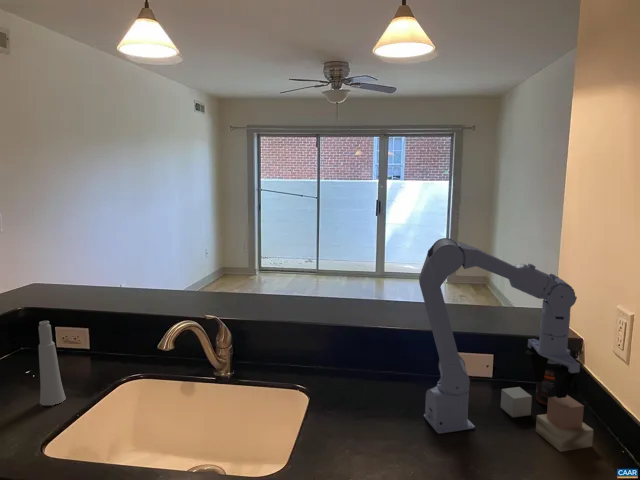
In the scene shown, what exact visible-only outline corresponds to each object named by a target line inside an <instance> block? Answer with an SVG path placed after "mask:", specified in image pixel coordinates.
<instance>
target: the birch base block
mask: <svg viewBox="0 0 640 480" xmlns="http://www.w3.org/2000/svg"><path fill="white" fill-rule="evenodd" d="M535 422H536V424H535V432H536V433H537V434H538V435H540V436H541V437H542V438H543V439H545V440H546V441H547V442H548V443H549V444H550V445H551V446H553V447H554V448H555V449H556V450H558V451H559V452H561V453H562V452H567V451H572V450H573V451H574V450H580V449H585V448H586V449H587V448H591V447H593V441H594V440H593V439H594V429H593V428H592V427H590V426H589V425H587V424H586V423H585V422H582V427H579V428H573V429H566V430H562V429H560V428H559V427H558V426H556V425H555V424H554V423H552V422H551V421H550V420H549V419H547V413H545V414H544V413H543V414H537V415H536V420H535Z"/></svg>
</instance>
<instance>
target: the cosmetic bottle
mask: <svg viewBox="0 0 640 480" xmlns="http://www.w3.org/2000/svg"><path fill="white" fill-rule="evenodd" d="M38 337H39V344H38V360H39V361H38V362H39V379H40V381H39V382H40V394H39V395H40V396H39V405H40V404H41V405H55V404H59V403H61V402H62V403H64V402H65V401H64V400H66V398H67V397H66V394H65V391H64V388H63V384H62V379H61V373H60V367H59V362H58V355H57V349H56V345H55V344H56V343H55V342H54V341H53V334H52V325H51V324H50V321H49V320H42V321H39V323H38ZM63 401H64V402H63ZM62 403H61V404H62ZM41 405H40V406H41ZM59 405H60V404H59Z"/></svg>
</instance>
